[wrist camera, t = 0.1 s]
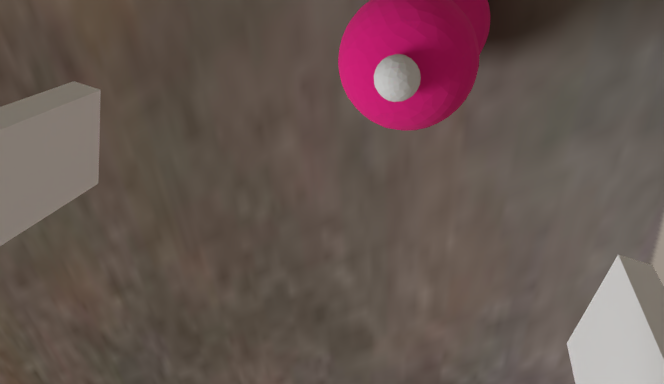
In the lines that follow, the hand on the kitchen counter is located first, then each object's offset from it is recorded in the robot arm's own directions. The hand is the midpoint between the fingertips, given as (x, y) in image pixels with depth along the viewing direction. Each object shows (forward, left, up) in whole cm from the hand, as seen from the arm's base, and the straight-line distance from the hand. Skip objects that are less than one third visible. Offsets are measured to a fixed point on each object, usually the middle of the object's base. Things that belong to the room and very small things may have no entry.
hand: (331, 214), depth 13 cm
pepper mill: (-1, 0, -28) cm, 28 cm away
